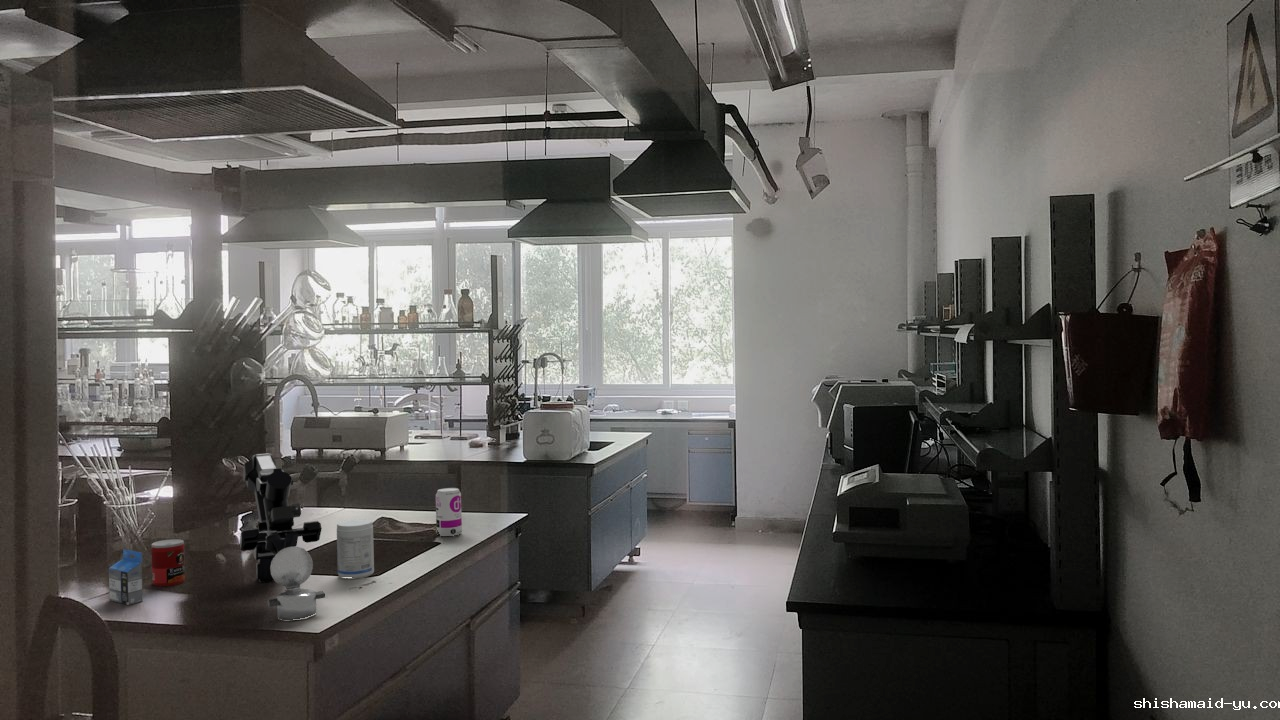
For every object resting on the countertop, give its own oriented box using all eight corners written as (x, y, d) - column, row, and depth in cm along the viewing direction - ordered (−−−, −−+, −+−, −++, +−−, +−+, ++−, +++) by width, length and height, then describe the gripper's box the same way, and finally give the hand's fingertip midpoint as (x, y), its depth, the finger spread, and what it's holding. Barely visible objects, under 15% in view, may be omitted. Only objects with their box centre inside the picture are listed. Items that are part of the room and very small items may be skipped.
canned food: (171, 587, 225) (169, 546, 224) (145, 586, 226) (143, 545, 226) (192, 579, 232) (190, 539, 232) (166, 578, 234) (165, 538, 234)
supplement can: (467, 533, 283) (466, 488, 283) (449, 538, 276) (448, 492, 276) (449, 531, 287) (448, 486, 287) (431, 535, 280) (430, 490, 280)
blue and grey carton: (108, 600, 214) (107, 552, 213) (124, 596, 217) (123, 548, 217) (127, 605, 209) (126, 555, 209) (144, 601, 212) (142, 552, 212)
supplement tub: (342, 571, 237) (341, 519, 237) (377, 570, 238) (376, 517, 238) (333, 581, 227) (332, 526, 227) (370, 579, 228) (368, 524, 228)
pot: (320, 605, 206) (319, 584, 206) (328, 615, 197) (327, 594, 197) (265, 614, 199) (264, 593, 199) (271, 625, 191) (271, 603, 191)
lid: (272, 592, 199) (270, 591, 200) (314, 585, 204) (312, 585, 205) (269, 549, 200) (268, 549, 202) (311, 544, 205) (310, 543, 207)
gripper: (239, 497, 209) (246, 550, 200) (319, 489, 219) (329, 539, 210) (237, 524, 216) (243, 576, 207) (314, 515, 226) (323, 565, 217)
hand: (285, 563), depth 210 cm, fingers closed
